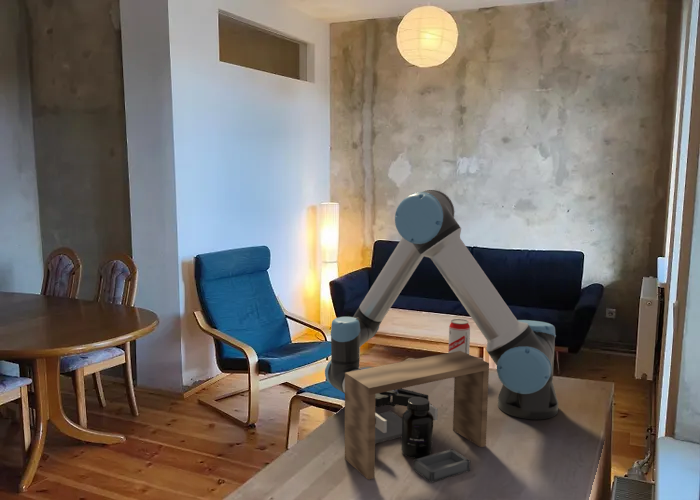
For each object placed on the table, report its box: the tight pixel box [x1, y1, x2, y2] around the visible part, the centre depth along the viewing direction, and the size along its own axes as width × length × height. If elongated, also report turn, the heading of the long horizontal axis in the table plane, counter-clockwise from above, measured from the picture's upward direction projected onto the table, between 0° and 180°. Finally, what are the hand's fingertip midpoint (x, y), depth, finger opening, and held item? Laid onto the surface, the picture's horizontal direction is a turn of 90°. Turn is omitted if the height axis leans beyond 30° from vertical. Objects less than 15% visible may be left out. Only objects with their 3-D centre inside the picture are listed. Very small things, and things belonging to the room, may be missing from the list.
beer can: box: [447, 318, 471, 355], centre depth 187 cm, size 6×6×16 cm
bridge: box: [344, 351, 490, 480], centre depth 137 cm, size 10×31×20 cm, turn 119°
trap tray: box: [413, 448, 471, 484], centre depth 130 cm, size 6×10×2 cm, turn 119°
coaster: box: [375, 410, 402, 444], centre depth 150 cm, size 12×12×1 cm
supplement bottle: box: [400, 397, 434, 460], centre depth 137 cm, size 7×7×12 cm
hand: (411, 420), depth 138 cm, fingers open, 13 cm apart
